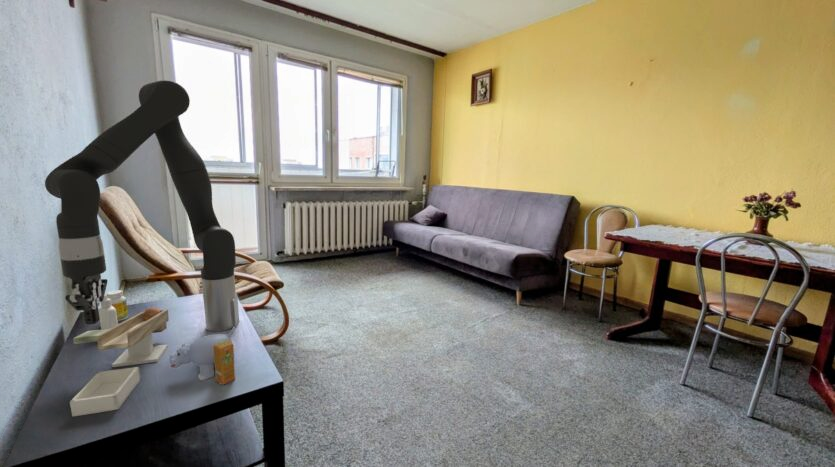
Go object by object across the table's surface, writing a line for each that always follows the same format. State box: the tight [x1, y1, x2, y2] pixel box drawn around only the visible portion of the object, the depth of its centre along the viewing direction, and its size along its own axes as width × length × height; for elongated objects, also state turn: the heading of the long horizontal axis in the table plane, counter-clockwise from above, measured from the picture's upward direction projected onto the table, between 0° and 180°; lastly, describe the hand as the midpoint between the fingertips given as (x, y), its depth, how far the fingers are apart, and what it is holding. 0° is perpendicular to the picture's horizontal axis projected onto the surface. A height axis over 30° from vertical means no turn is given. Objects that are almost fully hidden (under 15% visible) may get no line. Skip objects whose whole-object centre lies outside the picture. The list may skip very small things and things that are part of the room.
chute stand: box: [111, 333, 169, 368], centre depth 95 cm, size 10×8×6 cm
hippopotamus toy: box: [169, 327, 236, 381], centre depth 90 cm, size 11×15×10 cm
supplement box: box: [214, 340, 236, 386], centre depth 85 cm, size 3×3×10 cm
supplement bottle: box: [106, 289, 129, 322], centre depth 116 cm, size 5×5×10 cm
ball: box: [143, 307, 161, 320], centre depth 103 cm, size 4×4×4 cm
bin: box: [69, 366, 141, 418], centre depth 79 cm, size 8×11×4 cm
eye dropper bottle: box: [98, 294, 119, 330], centre depth 107 cm, size 4×6×12 cm
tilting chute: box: [73, 309, 169, 351], centre depth 93 cm, size 13×24×6 cm, turn 18°
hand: (93, 322), depth 85 cm, fingers closed
